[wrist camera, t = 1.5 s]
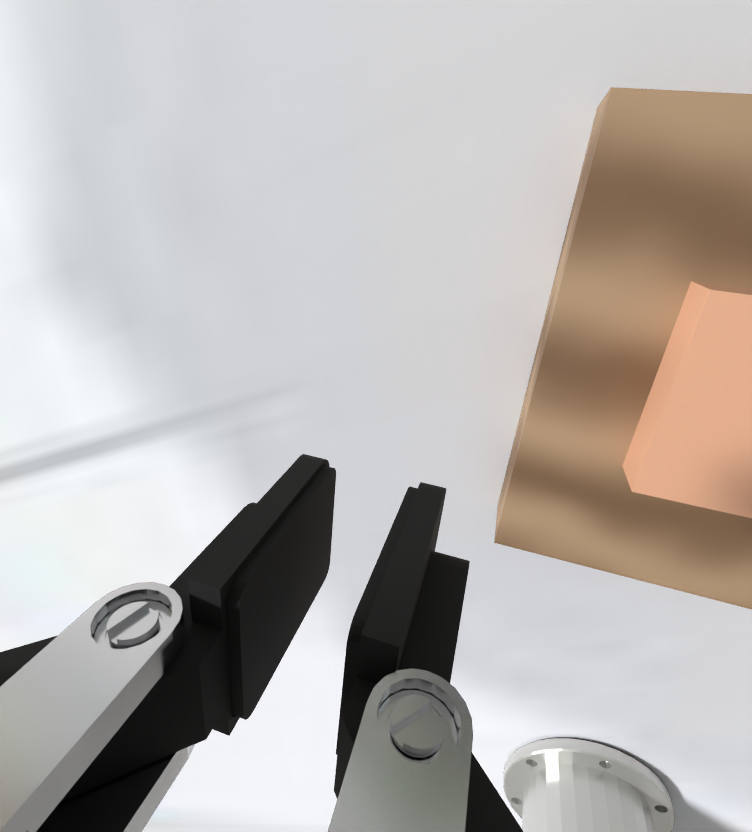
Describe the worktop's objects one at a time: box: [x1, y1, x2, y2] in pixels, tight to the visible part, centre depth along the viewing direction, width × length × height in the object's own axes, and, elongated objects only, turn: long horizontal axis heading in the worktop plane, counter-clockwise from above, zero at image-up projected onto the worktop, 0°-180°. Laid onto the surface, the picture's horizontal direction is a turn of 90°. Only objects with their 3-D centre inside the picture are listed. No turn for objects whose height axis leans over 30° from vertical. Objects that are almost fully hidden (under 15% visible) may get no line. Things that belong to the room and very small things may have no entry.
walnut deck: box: [494, 87, 752, 609], centre depth 23 cm, size 22×14×4 cm, turn 175°
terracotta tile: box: [622, 281, 752, 518], centre depth 20 cm, size 9×6×2 cm, turn 175°
